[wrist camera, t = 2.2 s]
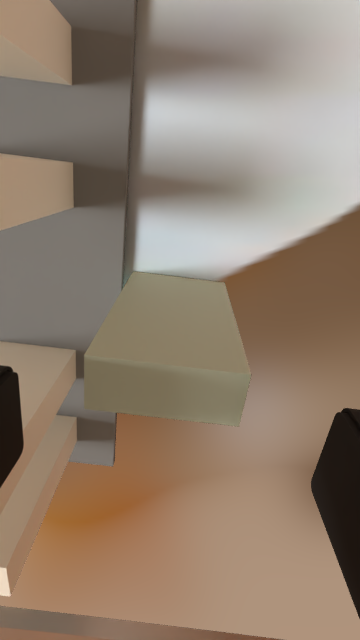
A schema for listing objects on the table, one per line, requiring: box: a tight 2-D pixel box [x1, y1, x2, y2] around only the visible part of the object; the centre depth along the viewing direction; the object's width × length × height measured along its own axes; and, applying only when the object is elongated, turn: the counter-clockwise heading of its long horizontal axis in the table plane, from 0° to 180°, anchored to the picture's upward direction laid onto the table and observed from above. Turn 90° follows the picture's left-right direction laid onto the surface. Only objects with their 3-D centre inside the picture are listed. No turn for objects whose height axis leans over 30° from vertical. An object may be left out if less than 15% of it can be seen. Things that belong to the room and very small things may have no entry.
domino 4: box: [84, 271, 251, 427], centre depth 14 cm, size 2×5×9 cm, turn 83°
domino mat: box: [0, 0, 137, 466], centre depth 18 cm, size 26×10×1 cm, turn 173°
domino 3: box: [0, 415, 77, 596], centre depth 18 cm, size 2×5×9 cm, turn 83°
